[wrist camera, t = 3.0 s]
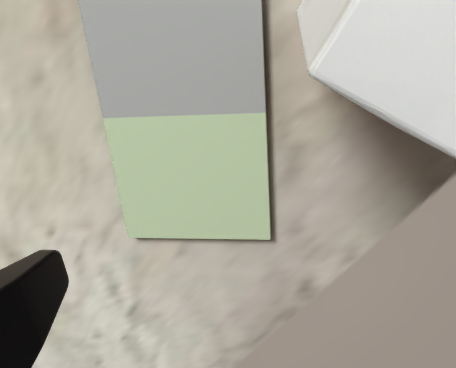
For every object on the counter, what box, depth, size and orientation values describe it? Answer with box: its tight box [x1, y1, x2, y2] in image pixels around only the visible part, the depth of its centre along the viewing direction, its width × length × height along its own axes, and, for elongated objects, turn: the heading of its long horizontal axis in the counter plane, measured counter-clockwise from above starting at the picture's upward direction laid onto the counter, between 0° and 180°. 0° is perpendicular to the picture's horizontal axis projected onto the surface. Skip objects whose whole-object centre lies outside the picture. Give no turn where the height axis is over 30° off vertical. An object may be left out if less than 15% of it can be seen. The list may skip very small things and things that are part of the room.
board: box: [78, 0, 271, 240], centre depth 20 cm, size 8×14×1 cm, turn 4°
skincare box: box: [297, 0, 456, 159], centre depth 12 cm, size 6×4×12 cm
